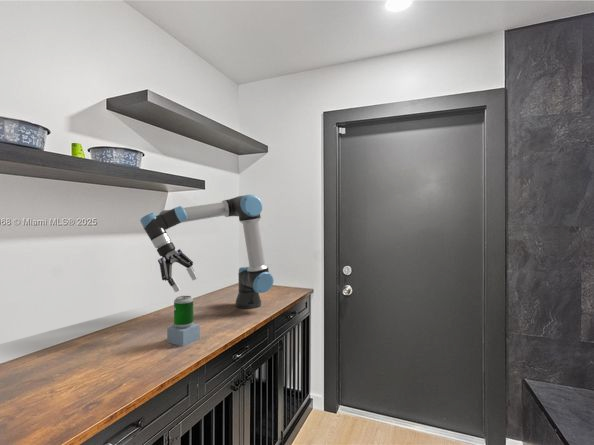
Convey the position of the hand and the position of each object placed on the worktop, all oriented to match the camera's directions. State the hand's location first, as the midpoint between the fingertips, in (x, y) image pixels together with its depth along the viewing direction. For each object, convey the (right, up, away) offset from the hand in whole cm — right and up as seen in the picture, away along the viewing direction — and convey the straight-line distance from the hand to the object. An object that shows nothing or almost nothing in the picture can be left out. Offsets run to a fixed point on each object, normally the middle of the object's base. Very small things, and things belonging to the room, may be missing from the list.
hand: (187, 285), depth 146 cm
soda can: (+4, -14, -15) cm, 21 cm away
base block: (+4, -20, -15) cm, 26 cm away
